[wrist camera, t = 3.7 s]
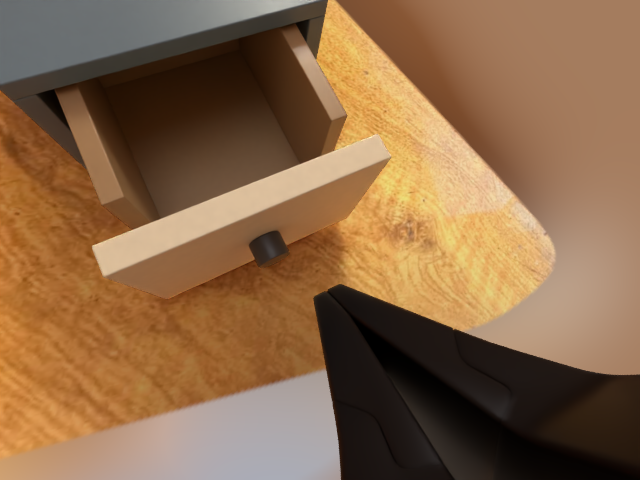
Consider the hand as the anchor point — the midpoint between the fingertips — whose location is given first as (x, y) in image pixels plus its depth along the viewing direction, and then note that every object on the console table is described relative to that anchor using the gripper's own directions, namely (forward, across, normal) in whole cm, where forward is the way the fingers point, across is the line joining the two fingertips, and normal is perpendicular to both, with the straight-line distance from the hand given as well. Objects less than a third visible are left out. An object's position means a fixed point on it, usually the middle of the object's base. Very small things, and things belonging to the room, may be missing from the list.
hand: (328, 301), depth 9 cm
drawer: (+15, 0, 0) cm, 15 cm away
